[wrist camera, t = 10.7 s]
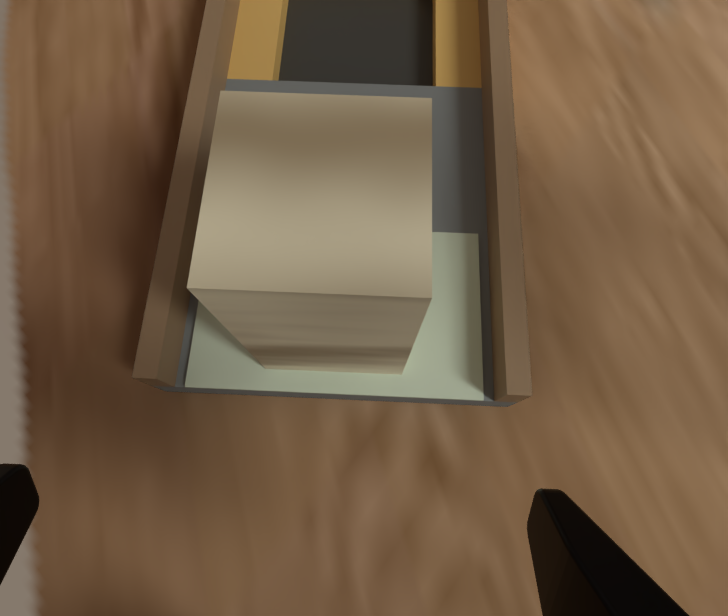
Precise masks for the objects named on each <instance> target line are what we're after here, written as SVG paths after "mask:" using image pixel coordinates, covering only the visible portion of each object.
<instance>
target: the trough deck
mask: <svg viewBox="0 0 728 616" xmlns="http://www.w3.org/2000/svg"><path fill="white" fill-rule="evenodd" d="M220 91H246V92H274V93H303V94H331V95H359V96H388V97H416V98H432V300H431V302H430V305H429V307H428V310H427V312H426V315H425V317H424V320H423V322H422V325H421V327H420V330H419V332H418V335H417V337H416V340H415V343H414V345H413V348H412V350H411V353H410V355H409V358H408V360H407V363H406V365H405V368H404V370H403V373H402V375H396V374H373V373H350V372H327V371H304V370H281V369H265V368H264V367H263V366H262V365H261V364H260V363H259V362H258V361H257V359H256V358H255V357H254V356H253V355H252V354H251V353H250V352H249V351H248V350H247V349H246V348H245V347H244V346H243V345H242V344H241V343H240V342H239V341H238V340H237V339H236V338H235V337H234V336H233V335H232V334H231V333H230V332H229V331H228V330H227V329H226V328H225V327H224V326H223V325H222V324H221V323H220V322H219V321H218V320H217V318H216V317H215V316H214V315H213V314H212V313H211V312H210V311H209V310H208V309H207V308H206V307H205V306H204V305H203V304H202V303H201V302H200V301H199V300H198V299H197V298H196V297H195V296H194V295H193V294H192V293H191V292H190V291H189V290H188V289H187V283H188V278H189V272H190V266H191V260H192V254H193V248H194V242H195V237H196V231H197V225H198V219H199V213H200V207H201V202H202V196H203V190H204V184H205V178H206V172H207V166H208V161H209V155H210V149H211V143H212V137H213V131H214V126H215V120H216V114H217V108H218V102H219V96H220ZM132 378H133V379H136V380H139V381H141V382H144V383H146V384H149V385H151V386H154V387H156V388H159V389H161V390H164V391H172V392H194V393H216V394H238V395H260V396H282V397H304V398H327V399H349V400H371V401H393V402H415V403H437V404H459V405H481V406H503V407H508V406H510V405H513V404H515V403H517V402H519V401H522V400H524V399H526V398H528V397H531V396H532V382H531V367H530V352H529V336H528V321H527V305H526V290H525V275H524V259H523V244H522V229H521V213H520V198H519V182H518V167H517V152H516V136H515V121H514V106H513V90H512V75H511V60H510V44H509V29H508V13H507V0H206V5H205V10H204V16H203V21H202V26H201V31H200V36H199V41H198V46H197V51H196V56H195V61H194V66H193V71H192V76H191V81H190V86H189V91H188V96H187V101H186V106H185V111H184V116H183V121H182V126H181V131H180V136H179V141H178V146H177V151H176V157H175V162H174V167H173V172H172V177H171V182H170V187H169V192H168V197H167V202H166V207H165V212H164V217H163V222H162V227H161V232H160V237H159V242H158V247H157V252H156V257H155V262H154V267H153V272H152V277H151V282H150V287H149V293H148V298H147V303H146V308H145V313H144V318H143V323H142V328H141V333H140V338H139V343H138V348H137V353H136V358H135V363H134V368H133V373H132Z"/></svg>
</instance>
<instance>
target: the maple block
mask: <svg viewBox="0 0 728 616" xmlns="http://www.w3.org/2000/svg"><path fill="white" fill-rule="evenodd" d="M187 289H188V290H189V291H190V292H191V293H192V294H193V295H194V296H195V297H196V298H197V299H198V300H199V301H200V302H201V303H202V304H203V305H204V306H205V307H206V308H207V309H208V310H209V311H210V312H211V313H212V314H213V315H214V316H215V317H216V318H217V320H218V321H219V322H220V323H221V324H222V325H223V326H224V327H225V328H226V329H227V330H228V331H229V332H230V333H231V334H232V335H233V336H234V337H235V338H236V339H237V340H238V341H239V342H240V343H241V344H242V345H243V346H244V347H245V348H246V349H247V350H248V351H249V352H250V353H251V354H252V355H253V356H254V357H255V358H256V359H257V361H258V362H259V363H260V364H261V365H262V366H263V367H264V368H265V369H281V370H304V371H327V372H350V373H373V374H396V375H402V373H403V370H404V368H405V365H406V363H407V360H408V358H409V355H410V353H411V350H412V348H413V345H414V343H415V340H416V337H417V335H418V332H419V330H420V327H421V325H422V322H423V320H424V317H425V315H426V312H427V310H428V307H429V305H430V302H431V300H432V98H416V97H388V96H359V95H331V94H303V93H274V92H246V91H220V96H219V102H218V108H217V114H216V120H215V126H214V131H213V137H212V143H211V149H210V155H209V161H208V166H207V172H206V178H205V184H204V190H203V196H202V202H201V207H200V213H199V219H198V225H197V231H196V237H195V242H194V248H193V254H192V260H191V266H190V272H189V278H188V283H187Z"/></svg>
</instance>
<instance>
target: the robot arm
mask: <svg viewBox="0 0 728 616" xmlns="http://www.w3.org/2000/svg"><path fill="white" fill-rule="evenodd" d="M38 506H39V495H38V493H37V490H36V487H35V485H34V482H33V479H32V477H31V474H30V471H29V469H28V468H27V467H26V466H25V465H22V464H0V584H1V583H2V580H3V578H4V576H5V575H6V573H7V570H8V569H9V567H10V565H11V563H12V560H13V559H14V557H15V554H16V552H17V551H18V549H19V546H20V545H21V543H22V541H23V539H24V537H25V535H26V532H27V530H28V528H29V526H30V524H31V522H32V520H33V518H34V516H35V514H36V512H37V510H38ZM527 532H528V539H529V544H530V550H531V555H532V560H533V566H534V571H535V576H536V582H537V587H538V593H539V598H540V603H541V609H542V614H543V616H689V615H688V614H687V613H686V612H685V611H684V610H683V609H682V608H681V607H680V606H679V605H678V604H677V603H676V602H675V601H674V600H673V599H672V598H671V597H670V596H669V595H668V594H667V593H666V592H665V591H664V590H663V589H662V588H661V587H660V586H659V585H658V584H657V583H656V582H655V581H654V580H653V579H652V578H651V577H650V576H649V575H648V574H647V573H646V572H644V571H643V570H642V569H641V568H640V567H639V566H638V565H637V564H636V563H635V562H634V561H633V560H632V559H631V558H630V557H629V556H628V555H627V554H626V553H625V552H624V551H623V550H622V549H621V548H620V547H619V546H618V545H617V544H616V543H615V542H614V541H613V540H612V539H611V538H610V537H609V536H608V535H607V534H606V533H605V532H604V531H603V530H602V529H601V528H600V527H599V526H598V525H597V524H596V523H595V522H594V521H593V520H592V519H591V518H590V517H589V516H588V515H587V514H586V513H585V512H584V511H583V510H582V509H581V508H580V507H579V506H578V505H576V504H575V503H574V502H573V501H572V500H571V499H570V498H569V497H568V496H567V495H566V494H565V493H564V492H563V491H561V490H558V489H538V490H537V491H536V492H535V495H534V498H533V502H532V506H531V510H530V514H529V517H528V522H527Z"/></svg>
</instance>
